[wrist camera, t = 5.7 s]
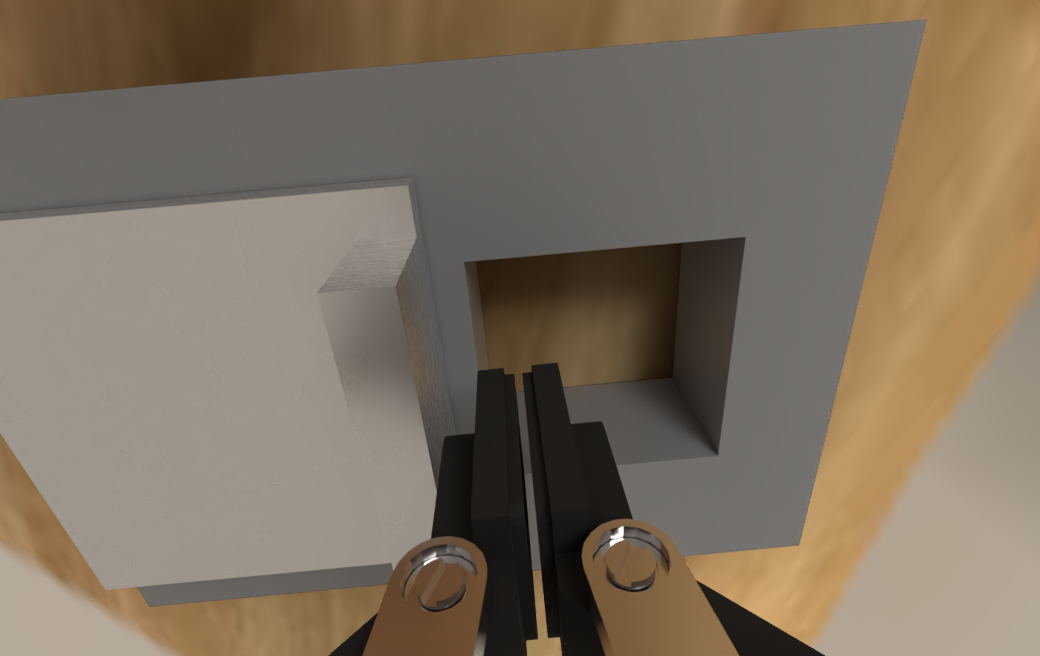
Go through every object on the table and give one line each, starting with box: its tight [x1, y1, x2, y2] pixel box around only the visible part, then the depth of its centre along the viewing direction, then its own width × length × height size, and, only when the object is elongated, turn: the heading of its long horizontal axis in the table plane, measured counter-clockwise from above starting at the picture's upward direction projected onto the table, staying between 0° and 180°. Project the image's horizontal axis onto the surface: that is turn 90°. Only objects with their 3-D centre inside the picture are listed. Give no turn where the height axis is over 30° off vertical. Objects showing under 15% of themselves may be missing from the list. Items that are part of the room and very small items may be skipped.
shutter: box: [0, 177, 456, 590], centre depth 11 cm, size 10×10×3 cm
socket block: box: [0, 20, 926, 607], centre depth 14 cm, size 14×20×4 cm
